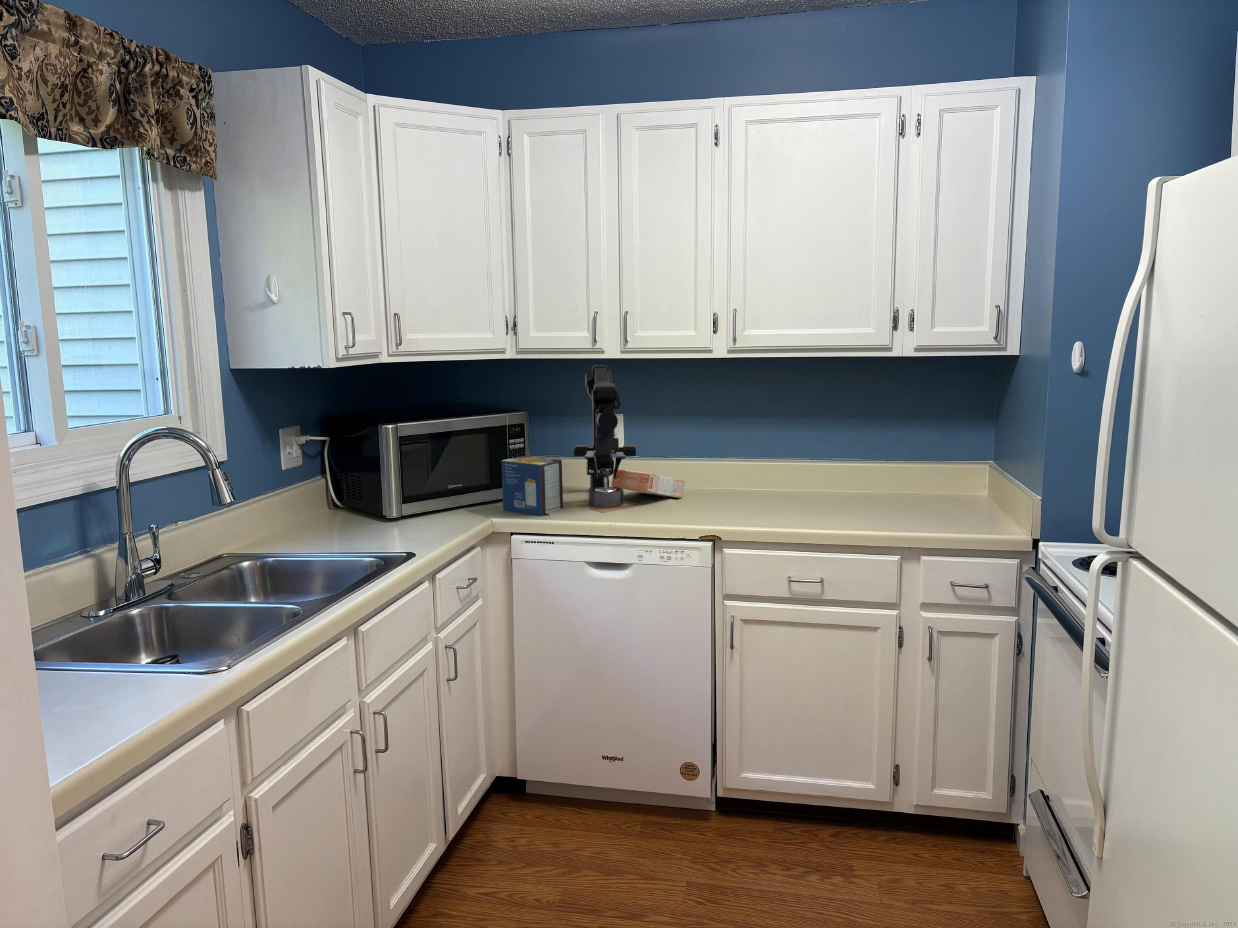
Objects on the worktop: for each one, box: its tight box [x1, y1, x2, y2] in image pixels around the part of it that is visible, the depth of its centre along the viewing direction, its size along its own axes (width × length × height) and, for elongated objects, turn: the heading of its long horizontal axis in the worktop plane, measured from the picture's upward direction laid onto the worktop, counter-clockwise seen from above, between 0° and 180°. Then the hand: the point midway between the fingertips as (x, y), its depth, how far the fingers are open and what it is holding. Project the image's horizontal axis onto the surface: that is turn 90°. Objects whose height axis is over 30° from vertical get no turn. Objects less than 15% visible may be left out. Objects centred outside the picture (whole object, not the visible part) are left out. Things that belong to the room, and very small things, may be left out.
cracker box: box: [610, 469, 686, 499], centre depth 271 cm, size 14×6×21 cm
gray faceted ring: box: [587, 486, 624, 508], centre depth 263 cm, size 13×10×4 cm
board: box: [563, 496, 645, 514], centre depth 264 cm, size 22×16×1 cm
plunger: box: [595, 468, 617, 492], centre depth 261 cm, size 7×7×7 cm
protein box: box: [500, 455, 564, 517], centre depth 257 cm, size 10×15×16 cm
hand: (605, 478), depth 261 cm, fingers open, 5 cm apart
